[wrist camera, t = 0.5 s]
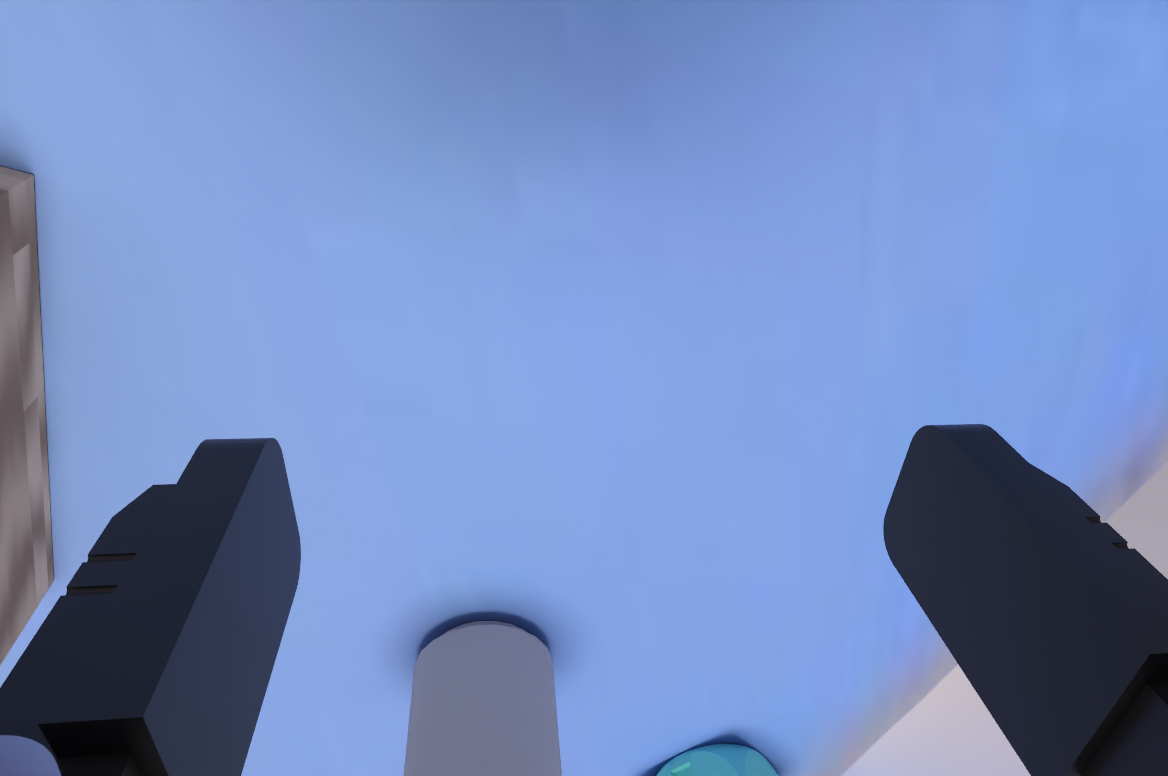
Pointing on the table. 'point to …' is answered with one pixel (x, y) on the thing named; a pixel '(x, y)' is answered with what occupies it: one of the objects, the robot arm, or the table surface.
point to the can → (483, 705)
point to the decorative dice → (718, 762)
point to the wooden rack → (21, 416)
